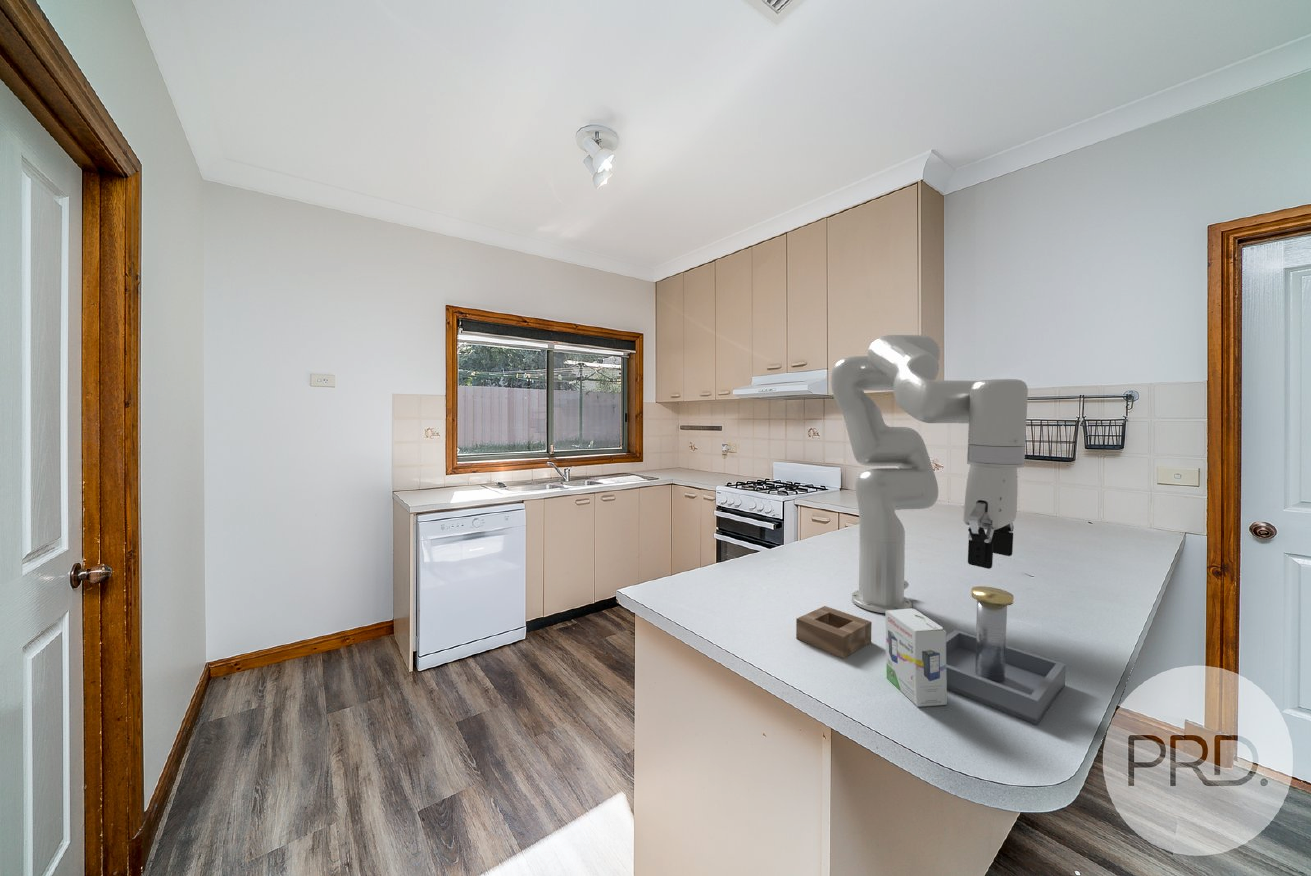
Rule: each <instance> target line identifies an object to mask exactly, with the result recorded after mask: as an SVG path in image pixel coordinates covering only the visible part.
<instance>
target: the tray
mask: <svg viewBox="0 0 1311 876" xmlns="http://www.w3.org/2000/svg"><path fill="white" fill-rule="evenodd" d="M975 659H976V635H974V634H971V633H967V632H964V631H961V630H958V629H954V630H953V631H951V632H950V633H948V634H946V677H947V690H949V691H952V692H954V693H955V694H958V695H962V696H963V697H966V698H968V699H971V700H973V701H976V702H978V703H981V704H983V705H986V706H989V707H991V708H993V709H995V710H998V711H1000V712H1003V713H1005V714H1008V715H1011V716H1012V717H1015V718H1018V719H1020V720H1022V721H1025V722H1028V723H1030V724H1032V725H1035V726H1037V725H1038V724H1039V723H1040V721H1041V720H1042V719H1043V717H1044V716H1045V714H1046V713H1047V712H1048V710H1049V708H1050V707H1051V706H1052V704H1053V703H1054V702H1055V700H1056V699H1057V697H1058V696H1059V695H1060V694H1061V692H1062V691H1063V689H1064V687H1065V686H1066V666H1067V665H1066V663H1063V662H1060V661H1056V660H1054V659H1051V658H1047V657H1045V656H1042V655H1038V654H1035V653H1032V652H1029V651H1026V650H1022V649H1018V648H1015V647H1012V646H1010V645H1009V646H1008V645H1006V658H1005V681H1004V682H1001V683H996V682H993V681H991V680H988V679H985V678H982V677H980V676H977V675H976V673H975Z"/></svg>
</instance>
